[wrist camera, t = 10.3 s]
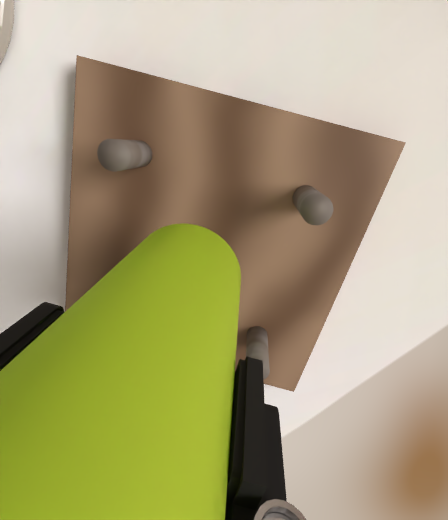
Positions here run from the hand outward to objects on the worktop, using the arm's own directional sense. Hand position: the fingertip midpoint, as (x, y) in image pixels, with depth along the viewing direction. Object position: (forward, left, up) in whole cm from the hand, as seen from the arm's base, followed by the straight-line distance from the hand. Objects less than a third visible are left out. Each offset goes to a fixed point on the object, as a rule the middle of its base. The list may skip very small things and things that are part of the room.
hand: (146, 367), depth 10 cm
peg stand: (0, 0, -13) cm, 13 cm away
